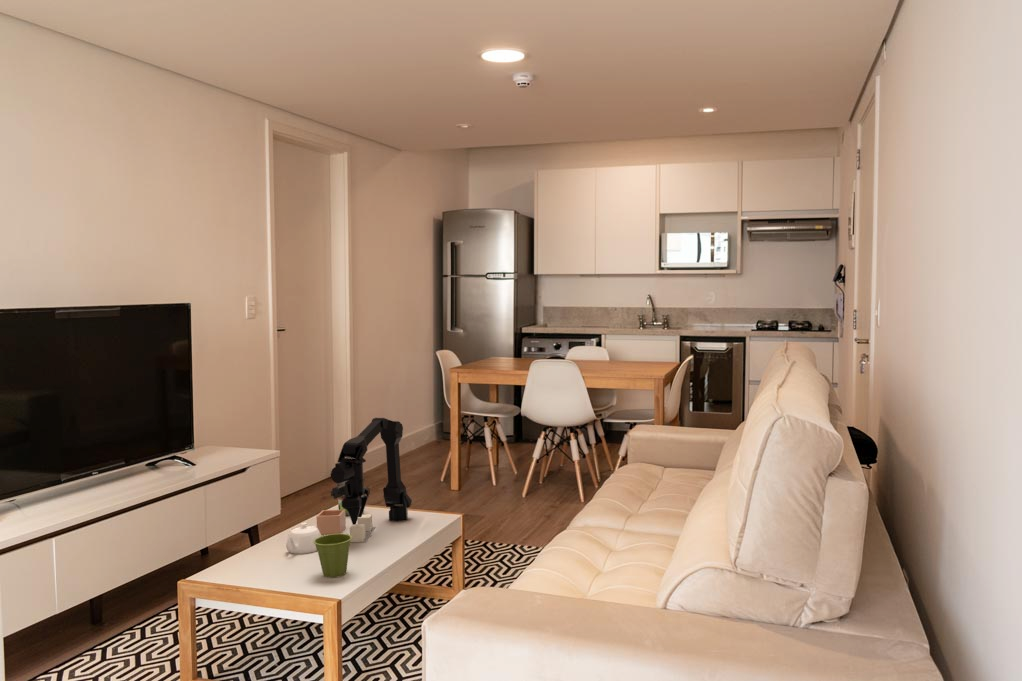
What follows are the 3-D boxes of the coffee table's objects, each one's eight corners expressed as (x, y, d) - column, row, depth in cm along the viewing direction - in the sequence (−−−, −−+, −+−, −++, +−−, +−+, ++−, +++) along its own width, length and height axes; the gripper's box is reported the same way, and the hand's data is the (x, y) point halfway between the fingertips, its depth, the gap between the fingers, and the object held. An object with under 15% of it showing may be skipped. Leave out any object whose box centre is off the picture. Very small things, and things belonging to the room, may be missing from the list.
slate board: (376, 529, 299) (376, 526, 299) (365, 545, 280) (365, 542, 280) (357, 530, 300) (357, 527, 300) (345, 546, 280) (345, 542, 280)
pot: (346, 530, 300) (345, 509, 299) (340, 537, 291) (339, 515, 291) (323, 531, 300) (322, 510, 300) (317, 538, 291) (316, 516, 291)
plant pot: (337, 565, 260) (335, 531, 259) (361, 572, 252) (359, 537, 252) (307, 575, 251) (305, 540, 250) (331, 583, 243) (329, 546, 242)
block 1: (365, 537, 285) (364, 524, 285) (362, 541, 281) (362, 527, 281) (352, 538, 286) (352, 524, 285) (350, 542, 281) (349, 527, 281)
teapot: (307, 562, 264) (306, 532, 263) (273, 561, 266) (272, 531, 266) (333, 544, 283) (332, 516, 283) (301, 543, 286) (300, 515, 285)
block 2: (372, 527, 298) (372, 514, 298) (370, 531, 294) (369, 517, 294) (360, 527, 299) (360, 514, 298) (358, 531, 294) (357, 517, 294)
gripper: (338, 472, 292) (340, 514, 293) (325, 483, 273) (327, 528, 274) (369, 471, 291) (370, 513, 292) (358, 482, 273) (360, 527, 274)
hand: (357, 520), depth 283 cm, fingers open, 9 cm apart
